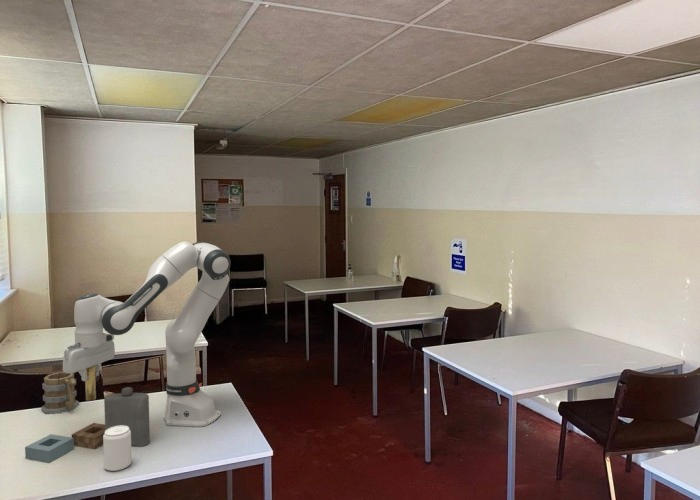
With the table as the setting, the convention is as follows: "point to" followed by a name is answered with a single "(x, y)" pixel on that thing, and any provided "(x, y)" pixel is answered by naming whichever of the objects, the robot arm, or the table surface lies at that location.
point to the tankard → (59, 393)
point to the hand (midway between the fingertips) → (90, 378)
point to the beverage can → (117, 448)
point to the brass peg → (90, 384)
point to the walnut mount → (90, 436)
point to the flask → (129, 414)
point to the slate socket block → (49, 448)
